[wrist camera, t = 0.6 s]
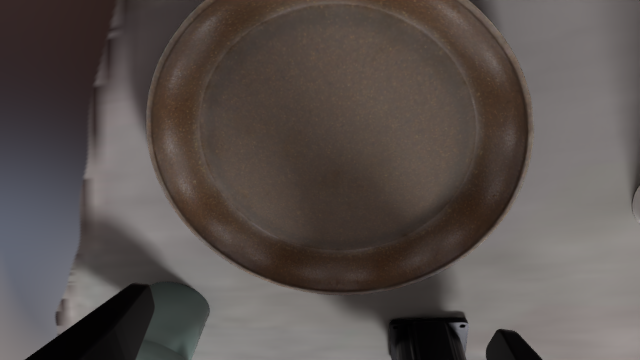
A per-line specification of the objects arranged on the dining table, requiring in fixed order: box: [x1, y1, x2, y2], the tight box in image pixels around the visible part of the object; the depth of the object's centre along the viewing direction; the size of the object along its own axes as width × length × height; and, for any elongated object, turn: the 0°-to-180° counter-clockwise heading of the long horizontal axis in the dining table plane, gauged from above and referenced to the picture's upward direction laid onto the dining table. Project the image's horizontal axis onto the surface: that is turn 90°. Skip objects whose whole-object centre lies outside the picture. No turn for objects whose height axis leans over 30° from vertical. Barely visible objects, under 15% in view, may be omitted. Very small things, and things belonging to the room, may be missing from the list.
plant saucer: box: [146, 0, 534, 295], centre depth 21 cm, size 21×21×3 cm
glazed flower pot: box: [136, 282, 210, 360], centre depth 29 cm, size 7×7×7 cm
